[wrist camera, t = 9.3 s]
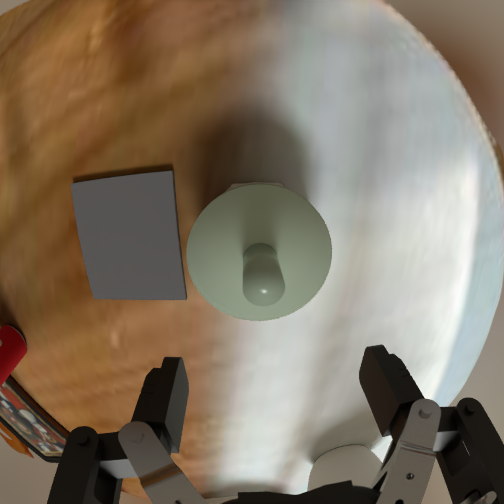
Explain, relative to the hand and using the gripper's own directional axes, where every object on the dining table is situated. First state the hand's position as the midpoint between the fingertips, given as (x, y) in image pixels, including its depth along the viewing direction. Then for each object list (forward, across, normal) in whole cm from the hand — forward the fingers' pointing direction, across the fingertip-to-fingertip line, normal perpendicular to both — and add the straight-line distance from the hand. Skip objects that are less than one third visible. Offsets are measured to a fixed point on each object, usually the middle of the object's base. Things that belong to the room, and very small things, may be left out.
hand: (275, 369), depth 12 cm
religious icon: (+20, +59, +45) cm, 77 cm away
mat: (+19, +14, 0) cm, 24 cm away
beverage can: (+20, +41, +16) cm, 48 cm away
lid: (+14, 0, 0) cm, 14 cm away
